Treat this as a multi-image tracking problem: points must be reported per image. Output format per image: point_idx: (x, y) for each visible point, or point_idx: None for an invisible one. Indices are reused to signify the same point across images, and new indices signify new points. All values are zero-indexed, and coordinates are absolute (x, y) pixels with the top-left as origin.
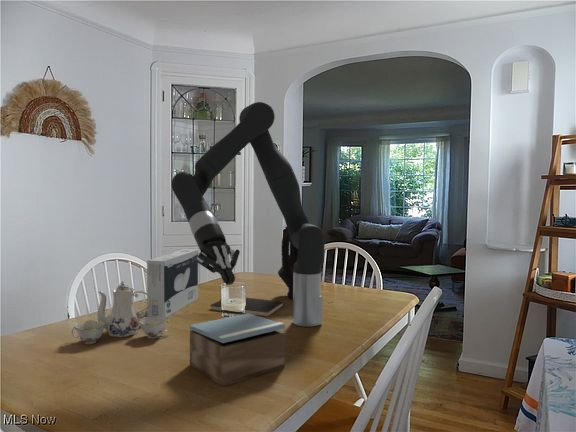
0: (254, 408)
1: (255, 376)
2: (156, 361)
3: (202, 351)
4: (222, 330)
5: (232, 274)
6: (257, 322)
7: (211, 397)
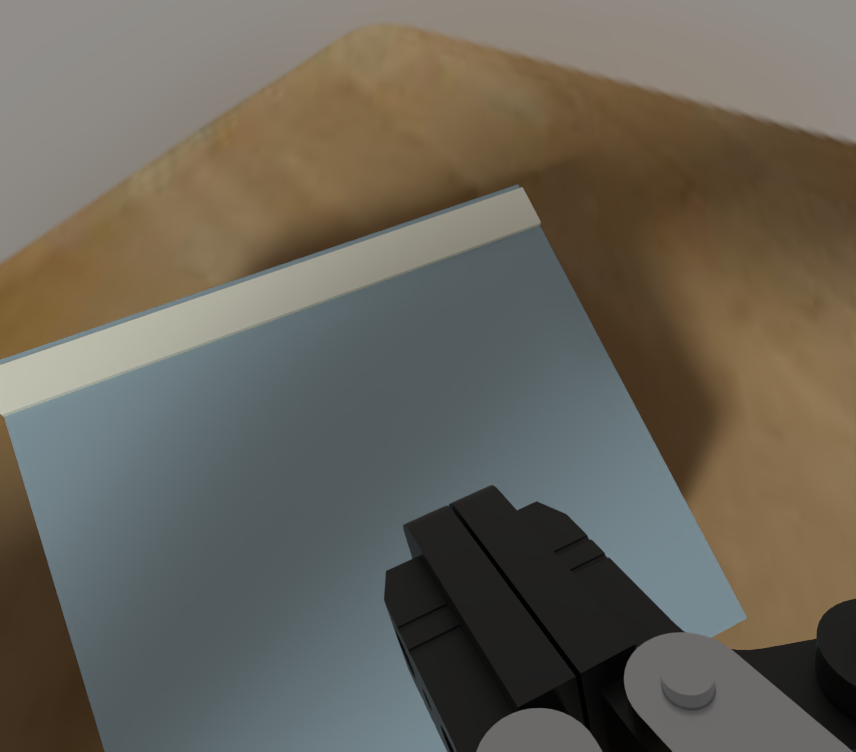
0: (372, 122)
1: None
2: None
3: None
4: (501, 369)
5: (433, 632)
6: (186, 504)
7: None
